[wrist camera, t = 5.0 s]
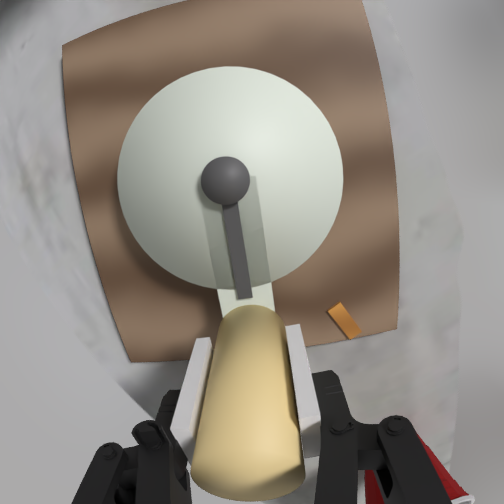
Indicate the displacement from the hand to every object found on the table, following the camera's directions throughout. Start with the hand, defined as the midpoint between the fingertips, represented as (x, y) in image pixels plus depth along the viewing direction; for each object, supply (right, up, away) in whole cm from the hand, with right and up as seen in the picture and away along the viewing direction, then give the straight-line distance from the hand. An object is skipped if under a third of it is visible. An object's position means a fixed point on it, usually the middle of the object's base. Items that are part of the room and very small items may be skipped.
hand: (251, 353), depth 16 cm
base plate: (-1, +10, +2) cm, 10 cm away
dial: (-1, +7, +2) cm, 8 cm away
